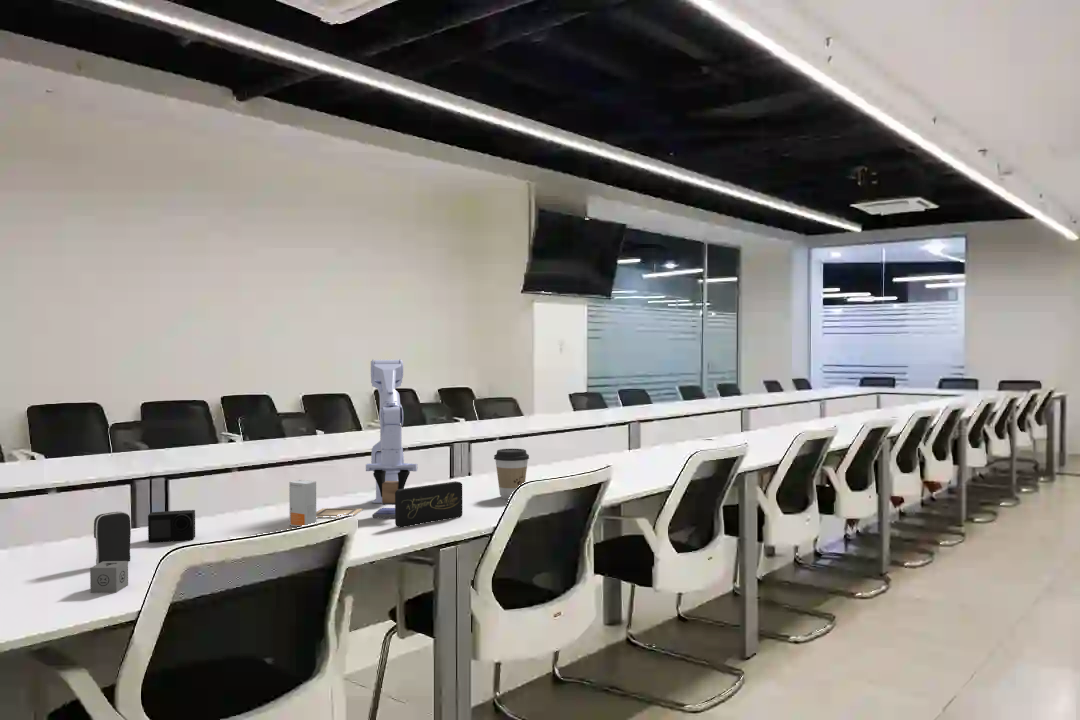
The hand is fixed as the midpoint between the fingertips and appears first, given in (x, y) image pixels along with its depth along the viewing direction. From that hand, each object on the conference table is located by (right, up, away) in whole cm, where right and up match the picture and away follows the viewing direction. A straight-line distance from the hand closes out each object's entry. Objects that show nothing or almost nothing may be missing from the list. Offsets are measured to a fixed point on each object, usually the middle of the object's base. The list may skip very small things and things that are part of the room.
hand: (391, 496), depth 234 cm
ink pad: (0, -5, 0) cm, 5 cm away
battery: (-53, -7, -52) cm, 74 cm away
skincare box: (-21, -6, -14) cm, 26 cm away
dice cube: (-43, -7, -71) cm, 83 cm away
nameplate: (+12, -6, -9) cm, 16 cm away
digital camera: (-50, -6, -29) cm, 58 cm away
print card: (-16, -5, +2) cm, 17 cm away
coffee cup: (+33, -5, +27) cm, 43 cm away
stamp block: (0, -2, 0) cm, 2 cm away
